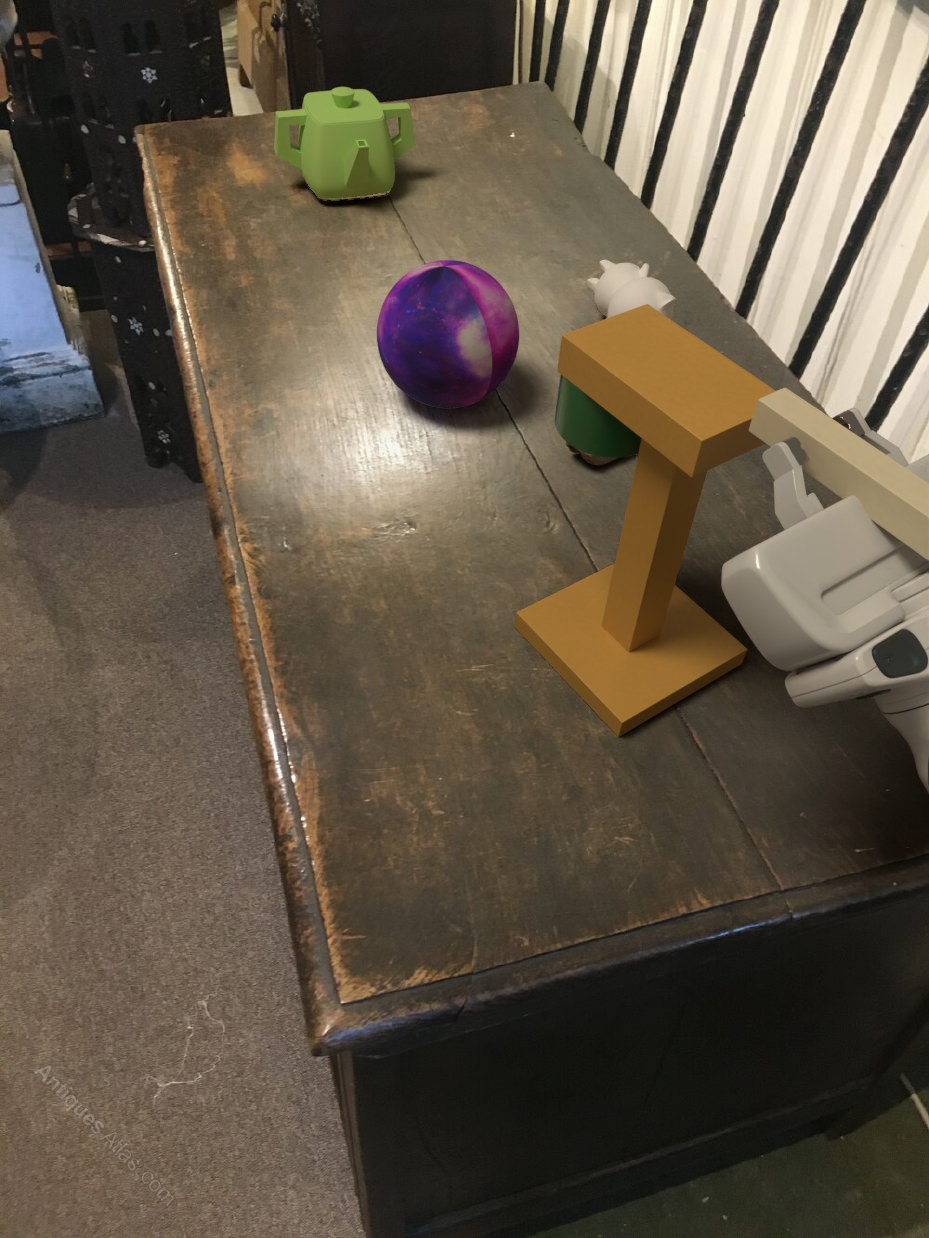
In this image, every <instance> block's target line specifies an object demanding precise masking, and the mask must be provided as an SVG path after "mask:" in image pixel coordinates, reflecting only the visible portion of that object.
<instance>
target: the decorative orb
mask: <svg viewBox="0 0 929 1238" xmlns="http://www.w3.org/2000/svg"><path fill="white" fill-rule="evenodd" d="M378 314H379V315H378V318H377V323H376V324H377V325H376V344H377V350H378V354H379V358H380V360H381V361H380V362H381V363H382V365H383V368H384V370H385V371H386V373H387V375H388V376H389V378H390V379H391V381H392V382H393V383H394V384H395V385H396V387H397V388H398V389H399V390H400V391H401V392H403V393H404V394H405V395H406V396H408V397H409V398H411V399H412V400H414V401H415V402H418V403H420V404H423V405H425V406H428V407H431V408H432V407H433V408H437V409H447V410H448V409H449V410H450V409H451V410H452V409H460V408H465V407H469V406H471V405H474V404H476V403H478V402H481V401H482V400H485V399H486V398H487V397H489V396H490V395H492V394H493V393H494V392H495V391H496V390H497V389H498V388H499V387H500V386H501V385H502V384H503V382H505V380H506V378H507V377H508V375H510V372H511V370H512V368H513V367H514V364H515V361H516V358H517V354H518V351H519V346H520V345H519V344H520V325H519V319H518V315H517V311H516V308H515V305H514V303H513V301H512V299H511V297H510V296H509V293H508V292H507V291H506V289H505V287H503V286H502V284H501V283H500V282H499V281H498V280H497V279H496V278H495V277H493V276H492V274H490V273H489V272H488V271H486V270H484V269H483V268H481V267H479V266H477V265H474V264H472V263H468V262H465V261H462V260H455V259H442V260H440V259H439V260H435V261H430V262H427V263H424V264H421V265H418V266H417V267H415V268H413V269H411V270H410V271H408V272H407V273H405V274H404V275H403V276H402V277H401V278H400V279H398V281H397V282H395V284H394V285H393V286H392V288H391V289H390V290H389V292H388V293H387V295H386V297H385V298H384V300H383V303H382V305H381V307H380V311H379V313H378Z"/></svg>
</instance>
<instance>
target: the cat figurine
mask: <svg viewBox="0 0 929 1238" xmlns="http://www.w3.org/2000/svg"><path fill="white" fill-rule="evenodd" d="M599 267H600V269H601V270H602V272H603V273H602V275H601V276H600V277H599V278H597V277H590V278H587V279H586V285H587V287H588V288H589V289H590V290H591V291H592V292H593V293H594V297H593V298H594V303H595V306H596V308H597V310H598V311H599V312H600V313H601V314H602V315H603V316H605V317H606V318H605V319H607V318H610V317H612V316H615V315H618V314H621V313H623V312H626V311H629V310H632V309H635V308H637V307H640V306H643V305H646V304H648V305H650V306H651V307H653V308H654V309H656V310H657V311H659V312H660V313H662V314H663V315H664V316H666V317H667V318H669V319H670V320H672V321H673V318H674V310H675V309H674V308H675V307H674V306H675V303H676V301H677V298H676V297H675V296H674V295H672V294H671V291H670V290H669V288H668V287H667V286H666V284H665V283H663V282H662V281H661V280H660V279H657V278H654V277H651V276H649V272H650V264H649V263H647V262H645V263H643V264H642V266H641V267H640V266H639V265H637V264H635V263H633V262H619V263H615V262H612V261H610V260H608V259H601V260H600V261H599Z"/></svg>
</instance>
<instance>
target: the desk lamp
mask: <svg viewBox="0 0 929 1238" xmlns="http://www.w3.org/2000/svg"><path fill="white" fill-rule="evenodd" d="M606 318H607V317H606ZM606 318H604V319H602V320H599V321H596V322H593V323H591V324H587V325H584V326H583V327H580V328H576V329H574V330H571V331H569V332H566V333H563V334H561V338H560V345H559V346H560V348H559V354H558V361H557V370H556V372H558V374H560V376H559V382H558V383H559V384H558V391H557V392H558V393H557V399H556V407H555V415H554V426H555V428H556V431H557V433H558V435H559V436H560V437H561V438H562V439H563V440H564V441H565V443H566V442H567V443H569V444H570V445H571V446H573V447H575V448H576V449H578V450H580V451H583V452H585V453H588V454H591V455H595V456H600V457H608V458H617V459H619V458H621V459H622V458H629V457H633V456H637V458H636V463H635V468H634V472H633V477H632V481H631V486H630V491H629V495H628V500H627V504H626V510H625V514H624V517H623V518H624V519H623V523H622V528H621V532H620V537H619V541H618V546H617V552H616V555H615V561H614V563H612V564H610V565H609V566H606V567H605V568H602V569H600V570H598V571H596V572H593V574H591V575H588V576H586V577H584V578H582V579H581V580H578V581H577V582H574V583H572V584H570V585H569V586H566V587H564V588H562V589H561V590H559V591H556V592H553V593H552V594H550V595H548V596H546V597H544V598H543V599H540V600H537V601H536V602H534V603H532V604H530V605H528V606H526V607H524V608H521V609H520V610H518V611H516V612H515V622H514V628H515V629H516V631H518V633H520V635H522V637H523V638H524V639H525V640H526V641H527V642H528V643H529V644H530V645H531V646H532V647H533V648H534V650H536V651H537V652H538V653H539V655H540V656H541V657H542V658H543V659H544V660H545V661H546V662H547V663H548V664H549V665H550V666H551V667H552V669H554V671H555V672H557V674H558V675H559V676H560V677H561V678H562V679H563V681H564V682H566V683H567V684H568V686H570V687H571V689H572V690H573V691H574V692H575V693H577V695H578V696H579V697H580V698H581V699H582V700H583V701H584V703H586V704H587V705H588V706H589V708H591V711H593V712H594V713H595V714H596V715H597V716H598V717H599V718H600V720H602V721H603V723H604V724H605V725H606V726H608V728H609V729H610V730H611V731H612V732H613V733H614V734H615V736H617V738H620V737H621V736H623V735H624V734H627V733H628V732H630V731H631V730H633V729H635V728H636V727H638V726H640V725H642V724H643V723H645V722H646V721H648V720H650V719H651V718H653V717H655V716H656V715H658V714H660V713H662V712H663V711H665V710H667V709H669V708H670V707H672V706H674V705H675V704H677V703H679V702H680V701H682V700H683V699H685V698H687V697H688V696H690V695H692V694H695V692H697V691H699V690H700V689H702V688H704V687H705V686H707V685H709V684H711V683H712V682H713V681H716V680H717V679H719V678H720V677H723V676H724V675H726V674H727V673H729V672H731V671H732V670H734V669H736V668H737V667H740V665H742V664H743V662H744V659H745V657H746V654H747V651H748V648H747V647H746V646H744V645H743V644H742V643H741V642H740V641H739V640H738V639H737V638H736V637H734V636H733V635H732V634H731V633H730V632H729V631H727V629H725V628H724V627H723V626H722V625H721V624H720V623H719V622H717V621H716V619H714V618H713V617H712V616H711V615H710V614H709V613H708V612H706V611H705V610H704V609H703V608H702V607H701V606H699V604H697V603H696V602H695V601H694V600H693V599H691V598H690V597H689V596H688V595H687V594H686V593H685V592H683V590H682V589H680V588H679V587H678V586H677V585H676V582H677V578H678V574H679V571H680V568H681V564H682V561H683V558H684V553H685V550H686V548H687V543H688V539H689V536H690V532H691V529H692V526H693V522H694V518H695V516H696V512H697V508H698V505H699V502H700V499H701V495H702V491H703V488H704V484H705V481H706V478H707V475H708V474H707V473H708V471H710V470H712V469H714V468H716V467H719V466H722V464H725V463H727V462H729V461H731V460H733V459H735V458H738V457H740V456H742V455H744V454H747V453H748V452H751V451H753V450H755V449H757V448H759V447H761V446H763V445H766V443H764V442H763V441H762V440H760V439H759V438H758V437H756V436H755V435H753V434H752V433H751V432H749V427H750V424H751V421H752V418H753V415H754V411H755V408H756V405H757V402H758V399H760V398H762V397H764V396H767V395H769V394H771V393H773V392H776V391H777V390H776V389H774V388H773V387H772V386H769V385H768V384H767V383H765V382H763V381H762V380H761V379H759V378H758V377H757V376H755V375H753V374H752V373H750V372H749V371H748V370H746V369H744V368H743V367H741V365H738V364H737V363H735V362H734V361H732V360H731V359H730V358H728V357H727V356H725V355H724V354H722V353H721V352H719V351H718V350H716V349H715V348H714V347H712V346H710V345H708V343H706V342H704V341H703V340H701V339H700V338H699V337H697V336H696V335H694V334H692V333H691V332H690V331H688V330H687V329H685V328H684V327H682V326H681V325H680V324H678V323H677V322H675V321H673V319H672V320H670V319H669V318H667V317H666V316H664V315H663V314H662V313H660V312H659V311H657V310H656V309H654V308H653V307H651V306H650V305H648V304H646V305H643V306H640V307H637V308H635V309H632V310H629V311H626V312H623V313H621V314H618V315H615V316H612V317H610V318H607V319H606Z"/></svg>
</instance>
